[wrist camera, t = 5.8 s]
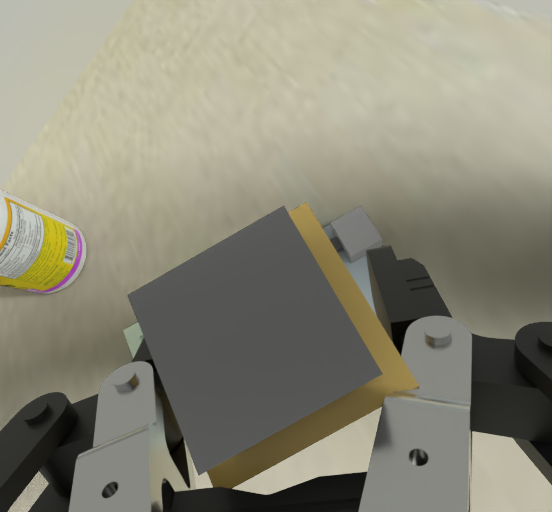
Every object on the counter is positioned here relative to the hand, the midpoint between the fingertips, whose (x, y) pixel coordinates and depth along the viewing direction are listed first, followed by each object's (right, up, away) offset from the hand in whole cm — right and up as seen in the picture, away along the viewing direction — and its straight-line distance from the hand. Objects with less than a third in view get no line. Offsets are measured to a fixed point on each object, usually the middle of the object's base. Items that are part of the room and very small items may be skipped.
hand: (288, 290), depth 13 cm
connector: (+1, -3, +3) cm, 5 cm away
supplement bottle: (-20, +1, +23) cm, 30 cm away
